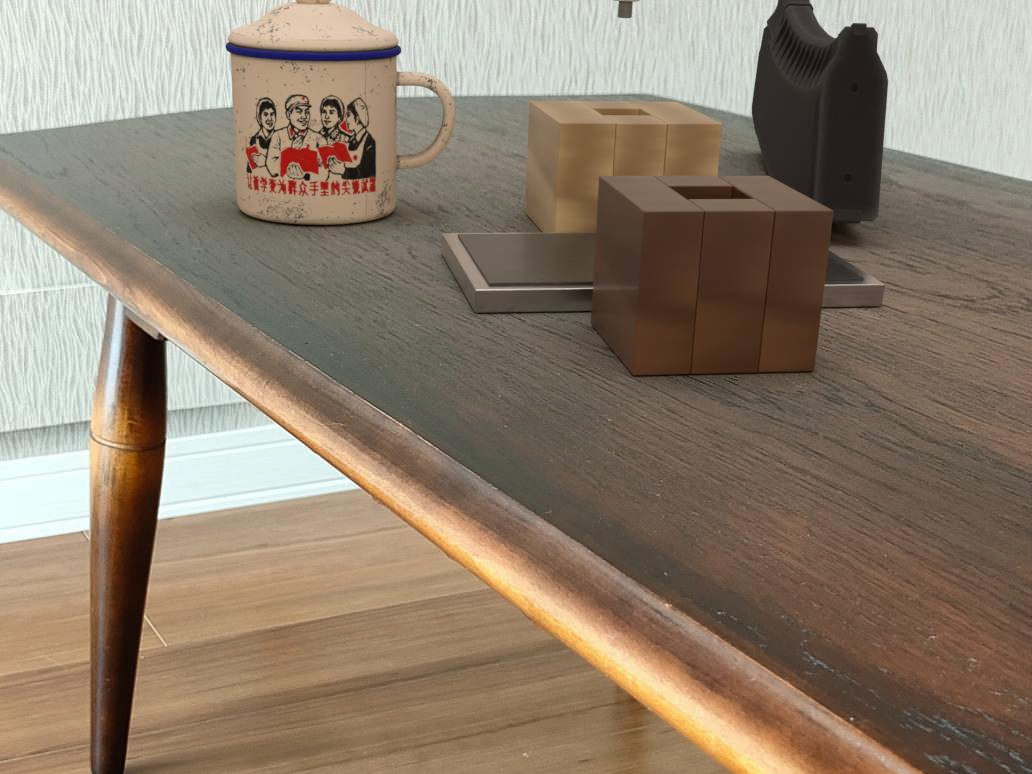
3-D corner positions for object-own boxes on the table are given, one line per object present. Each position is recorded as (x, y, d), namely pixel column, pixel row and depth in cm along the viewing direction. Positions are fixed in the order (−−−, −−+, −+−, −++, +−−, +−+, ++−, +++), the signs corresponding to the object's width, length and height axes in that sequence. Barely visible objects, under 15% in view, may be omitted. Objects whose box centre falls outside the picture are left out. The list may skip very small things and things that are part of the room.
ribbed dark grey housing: (910, 67, 68) (833, -126, 91) (840, 65, 68) (781, -127, 91) (847, 370, 80) (793, 131, 102) (788, 367, 80) (747, 129, 102)
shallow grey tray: (794, 250, 73) (797, 228, 73) (882, 306, 63) (885, 281, 63) (441, 253, 70) (441, 230, 70) (474, 313, 60) (475, 287, 60)
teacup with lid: (224, 226, 75) (212, -16, 70) (241, 193, 83) (232, -26, 78) (456, 229, 75) (461, -9, 71) (451, 196, 84) (454, -20, 79)
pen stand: (668, 212, 81) (677, 101, 79) (712, 244, 74) (722, 123, 71) (524, 213, 80) (528, 100, 77) (554, 246, 72) (559, 122, 70)
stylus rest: (754, 321, 60) (769, 175, 58) (814, 371, 54) (834, 210, 52) (590, 324, 59) (598, 175, 57) (632, 376, 53) (644, 211, 50)
